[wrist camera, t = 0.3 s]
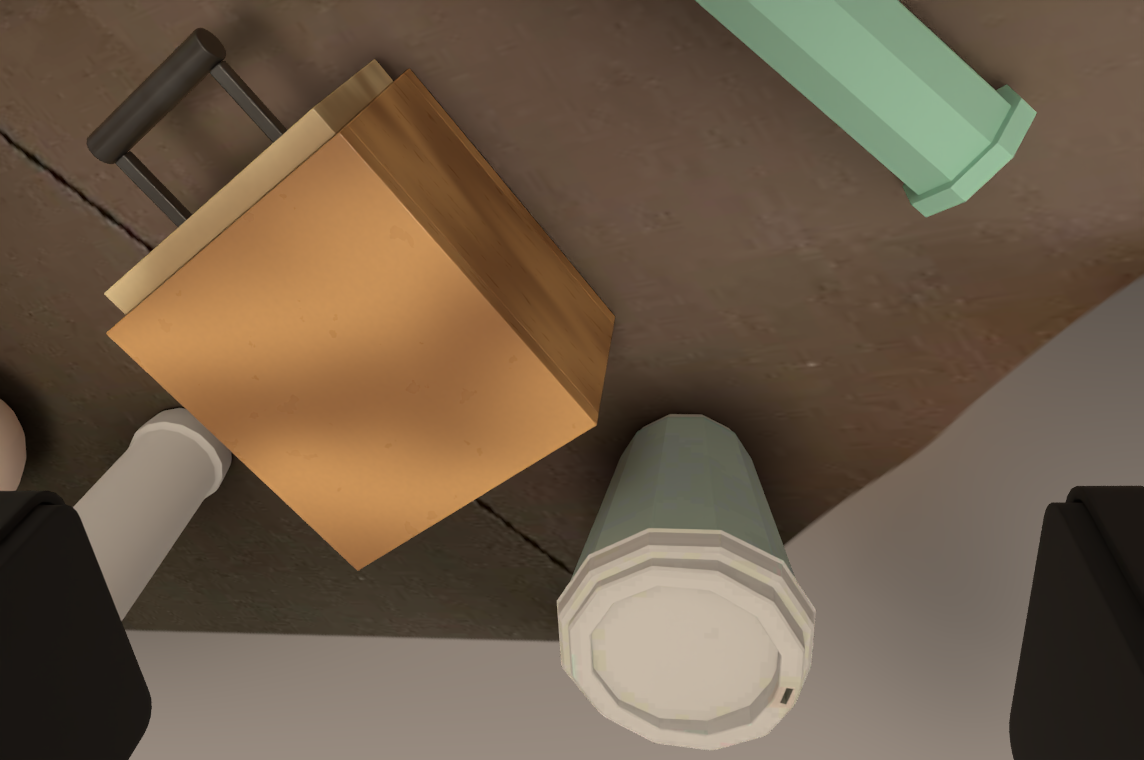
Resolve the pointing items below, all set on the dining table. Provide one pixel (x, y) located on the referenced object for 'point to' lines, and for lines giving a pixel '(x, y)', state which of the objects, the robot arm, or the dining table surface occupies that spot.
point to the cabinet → (381, 331)
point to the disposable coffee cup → (686, 595)
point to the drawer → (244, 189)
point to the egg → (11, 449)
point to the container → (888, 89)
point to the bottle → (150, 499)
